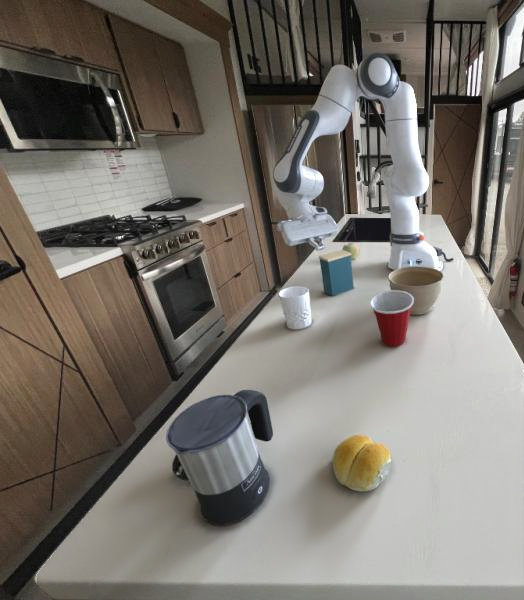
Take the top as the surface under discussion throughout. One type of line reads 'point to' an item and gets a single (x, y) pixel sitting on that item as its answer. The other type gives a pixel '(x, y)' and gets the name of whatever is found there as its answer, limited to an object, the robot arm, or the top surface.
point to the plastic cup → (392, 315)
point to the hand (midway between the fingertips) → (321, 249)
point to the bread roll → (361, 463)
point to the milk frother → (223, 454)
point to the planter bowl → (418, 286)
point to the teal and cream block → (336, 272)
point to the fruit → (352, 250)
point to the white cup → (296, 306)
